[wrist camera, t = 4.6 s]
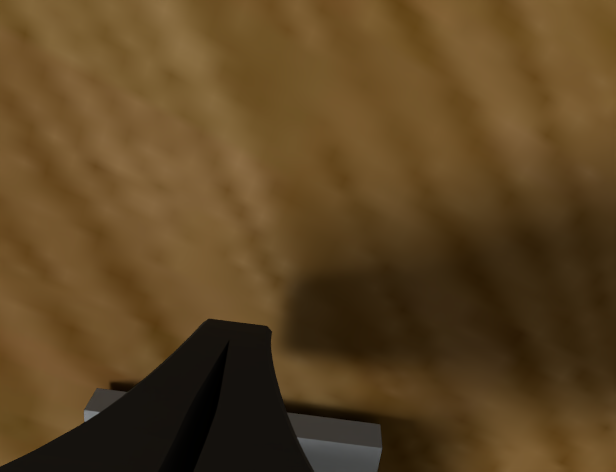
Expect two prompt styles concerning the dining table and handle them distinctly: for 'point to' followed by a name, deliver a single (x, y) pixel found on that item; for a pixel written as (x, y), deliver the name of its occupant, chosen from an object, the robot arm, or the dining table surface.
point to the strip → (306, 438)
